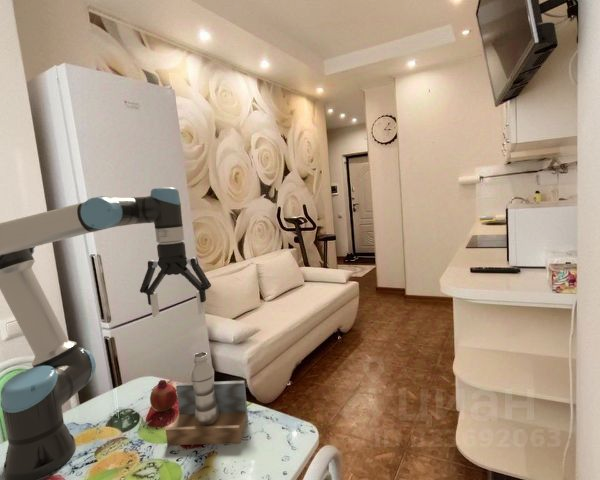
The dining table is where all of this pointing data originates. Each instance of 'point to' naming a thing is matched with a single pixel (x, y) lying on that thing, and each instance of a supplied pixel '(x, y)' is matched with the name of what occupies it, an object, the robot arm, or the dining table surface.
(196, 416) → the silver metal bottle
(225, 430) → the brown wooden box
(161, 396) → the fruit
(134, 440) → the dining table surface
